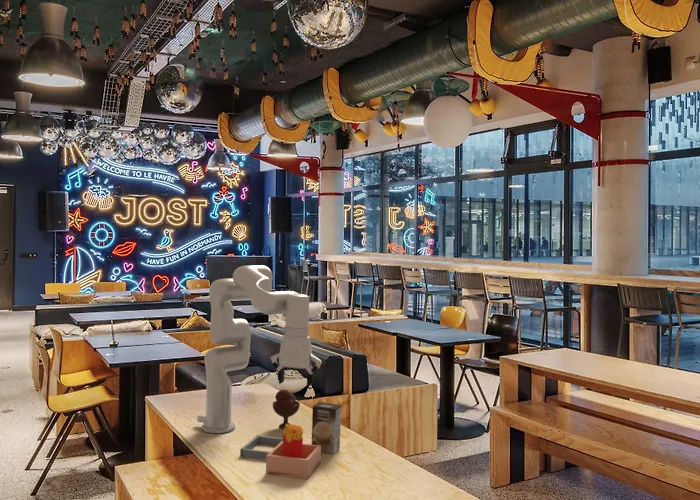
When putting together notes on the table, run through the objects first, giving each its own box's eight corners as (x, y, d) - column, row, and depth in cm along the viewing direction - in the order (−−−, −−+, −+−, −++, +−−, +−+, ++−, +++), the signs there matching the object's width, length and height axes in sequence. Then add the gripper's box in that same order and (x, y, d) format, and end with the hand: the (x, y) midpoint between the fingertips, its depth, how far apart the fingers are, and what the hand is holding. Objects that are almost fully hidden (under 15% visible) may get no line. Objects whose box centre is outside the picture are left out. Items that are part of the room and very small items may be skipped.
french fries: (279, 462, 208) (280, 423, 208) (290, 459, 211) (291, 421, 210) (295, 471, 201) (295, 430, 200) (306, 468, 204) (307, 428, 203)
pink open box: (265, 473, 201) (266, 455, 200) (281, 458, 214) (281, 441, 214) (307, 479, 197) (308, 460, 197) (320, 463, 211) (320, 445, 211)
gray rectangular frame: (240, 456, 215) (240, 449, 215) (257, 442, 230) (257, 435, 230) (273, 460, 212) (273, 453, 212) (288, 445, 227) (288, 438, 227)
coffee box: (310, 450, 222) (311, 405, 222) (317, 444, 228) (318, 401, 228) (334, 454, 219) (335, 408, 219) (340, 448, 225) (341, 404, 225)
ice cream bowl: (295, 432, 241) (296, 393, 241) (267, 429, 244) (268, 391, 243) (302, 424, 252) (303, 387, 251) (276, 421, 254) (277, 385, 253)
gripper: (267, 332, 203) (266, 384, 203) (318, 336, 198) (317, 389, 199) (275, 328, 210) (274, 378, 211) (325, 332, 206) (323, 383, 206)
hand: (295, 384), depth 205 cm, fingers open, 9 cm apart
